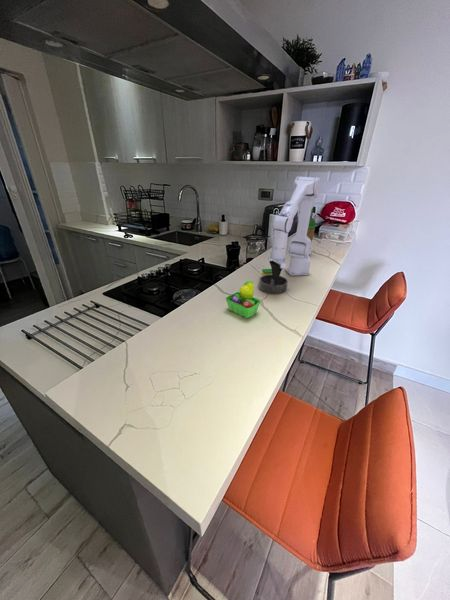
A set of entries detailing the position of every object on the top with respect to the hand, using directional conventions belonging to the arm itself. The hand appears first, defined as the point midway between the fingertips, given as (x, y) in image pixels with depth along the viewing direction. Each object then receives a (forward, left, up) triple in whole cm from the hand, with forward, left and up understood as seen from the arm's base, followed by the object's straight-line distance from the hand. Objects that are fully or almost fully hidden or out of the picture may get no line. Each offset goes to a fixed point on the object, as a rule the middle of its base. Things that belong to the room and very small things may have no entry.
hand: (275, 278), depth 109 cm
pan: (0, -2, -6) cm, 6 cm away
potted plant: (-32, -46, -6) cm, 56 cm away
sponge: (-1, -12, -6) cm, 13 cm away
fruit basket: (+17, +16, -6) cm, 24 cm away
